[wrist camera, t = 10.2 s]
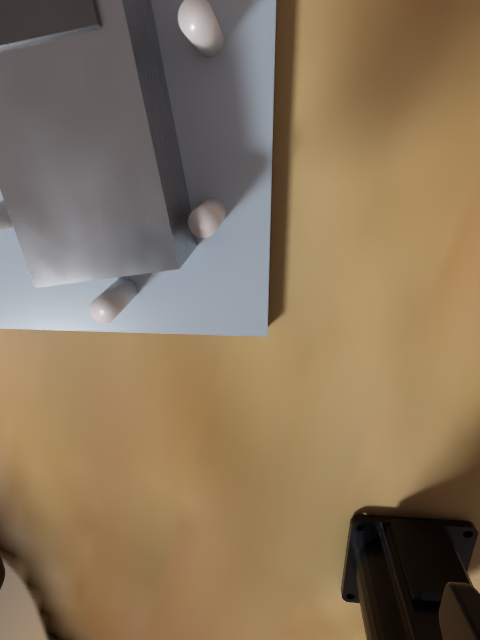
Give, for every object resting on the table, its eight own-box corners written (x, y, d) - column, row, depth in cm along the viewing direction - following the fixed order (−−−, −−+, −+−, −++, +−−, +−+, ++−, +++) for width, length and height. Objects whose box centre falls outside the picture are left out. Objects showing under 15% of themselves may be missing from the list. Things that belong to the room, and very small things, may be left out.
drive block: (197, 245, 16) (178, 270, 13) (80, 261, 17) (31, 289, 14) (144, -34, 13) (99, -98, 10) (0, -1, 14) (-90, -50, 10)
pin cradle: (267, 327, 19) (266, 364, 15) (12, 320, 20) (-40, 354, 16) (280, -158, 13) (282, -264, 9) (-93, -138, 13) (-210, -229, 10)
